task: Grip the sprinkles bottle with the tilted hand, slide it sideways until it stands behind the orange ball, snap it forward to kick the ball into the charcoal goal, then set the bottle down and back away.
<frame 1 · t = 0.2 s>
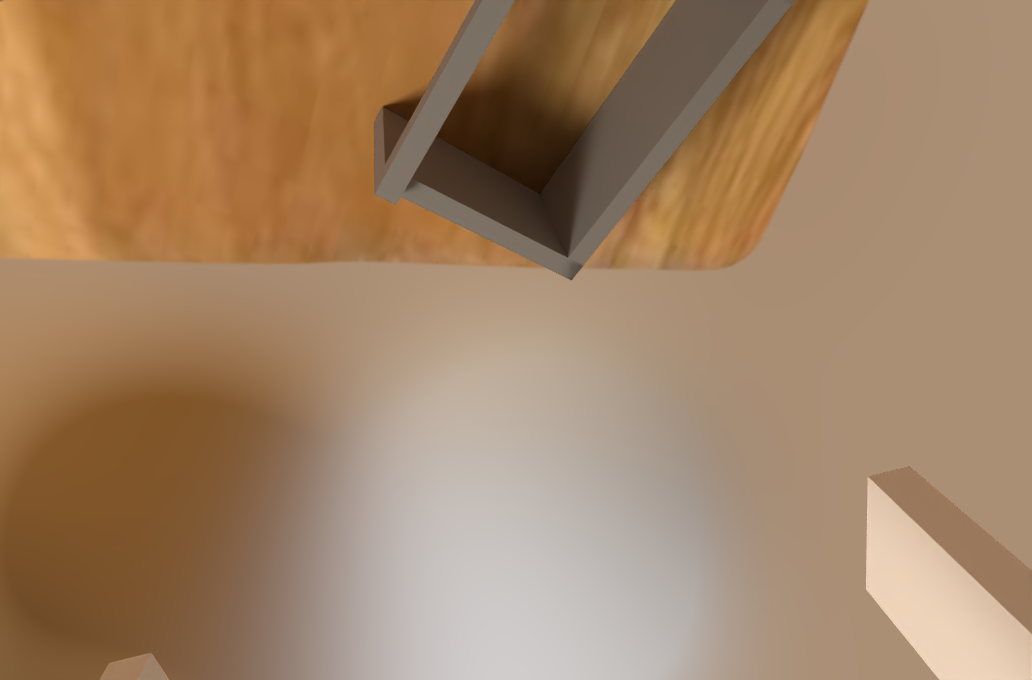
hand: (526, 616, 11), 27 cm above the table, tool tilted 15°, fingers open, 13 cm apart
goal: (547, 40, 31), on the table
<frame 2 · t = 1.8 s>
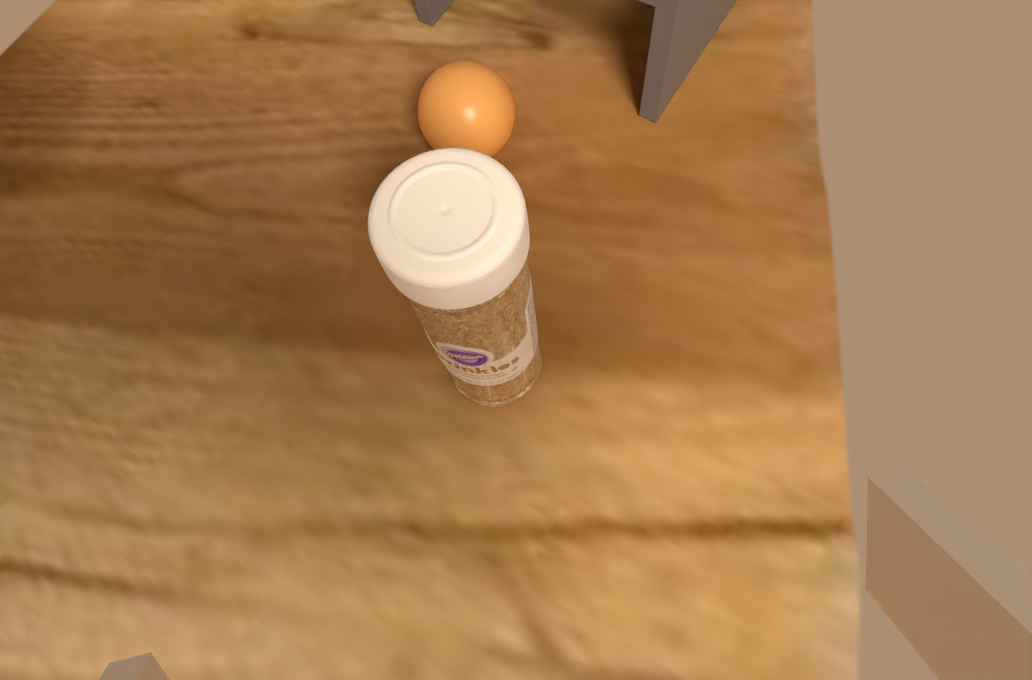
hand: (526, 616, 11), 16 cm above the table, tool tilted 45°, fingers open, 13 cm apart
ball: (466, 113, 32), point 2 cm above the table
sprinkles bottle: (497, 363, 30), on the table
goal: (579, 4, 37), on the table
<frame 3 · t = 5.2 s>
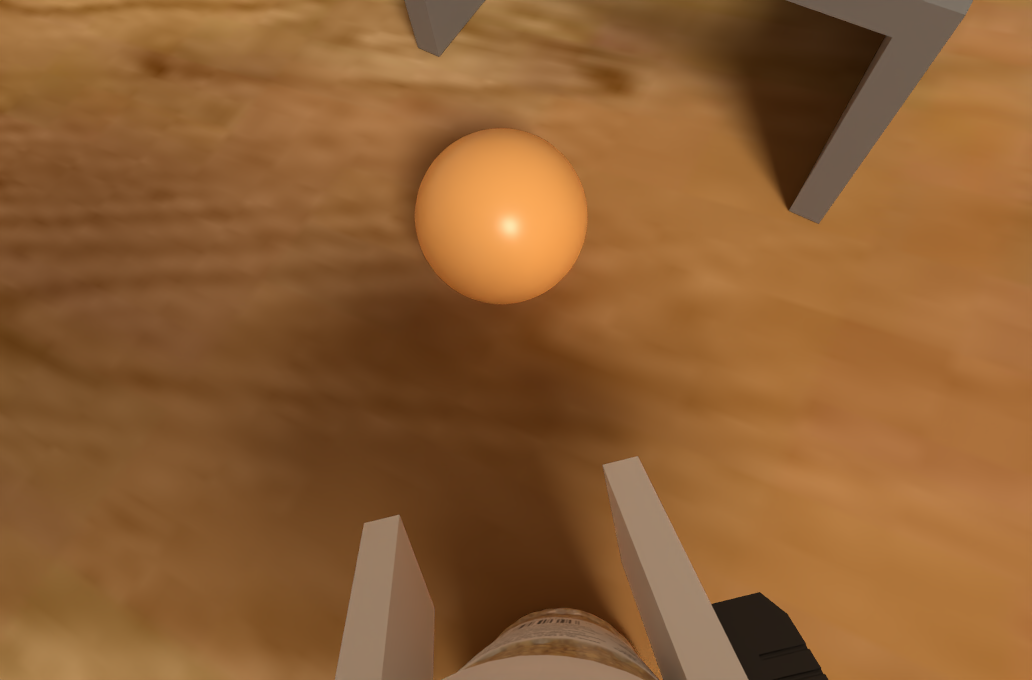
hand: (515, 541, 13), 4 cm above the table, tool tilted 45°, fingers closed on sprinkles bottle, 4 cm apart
ball: (501, 218, 18), point 2 cm above the table
goal: (672, 22, 23), on the table
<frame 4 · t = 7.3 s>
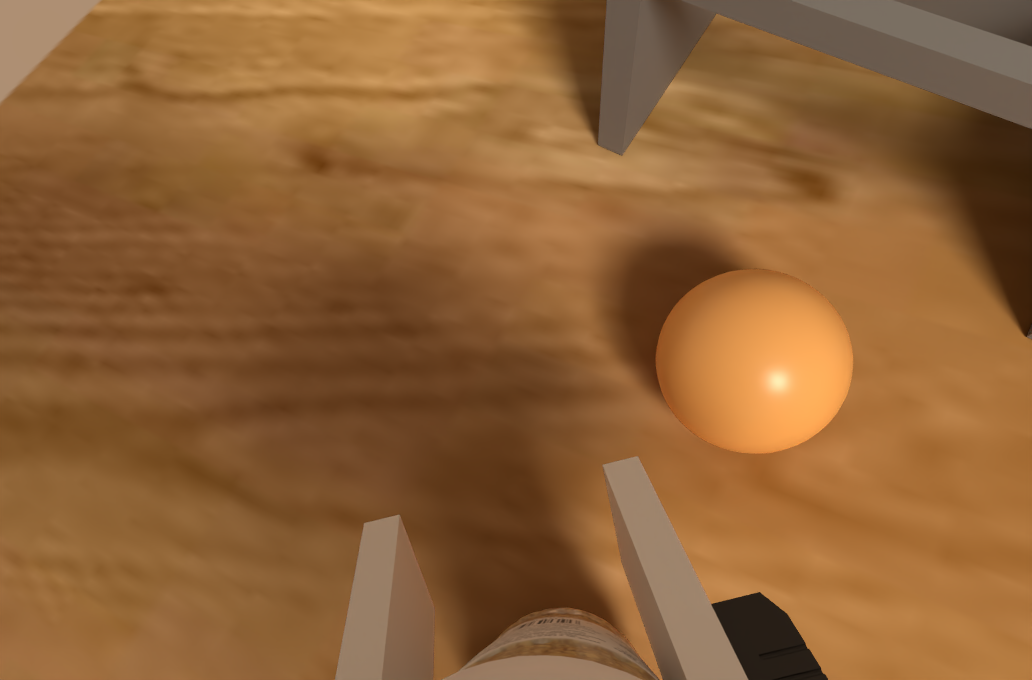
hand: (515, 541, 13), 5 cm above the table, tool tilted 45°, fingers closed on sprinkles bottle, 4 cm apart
ball: (749, 360, 17), point 2 cm above the table
goal: (869, 120, 22), on the table
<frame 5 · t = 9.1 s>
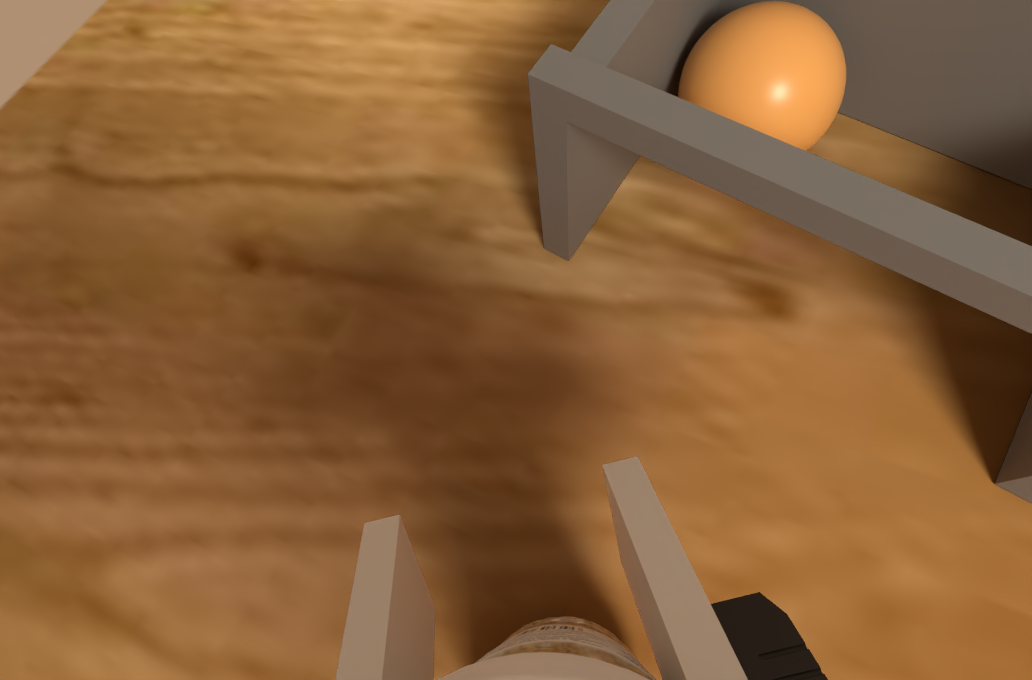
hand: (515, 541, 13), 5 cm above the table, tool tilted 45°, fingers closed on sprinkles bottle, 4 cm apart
ball: (758, 89, 20), point 2 cm above the table, tilted 64°
goal: (834, 228, 21), on the table
when the fingers open (5 cm above the table, at t = 9.4 s): sprinkles bottle stays where it is, on the table.
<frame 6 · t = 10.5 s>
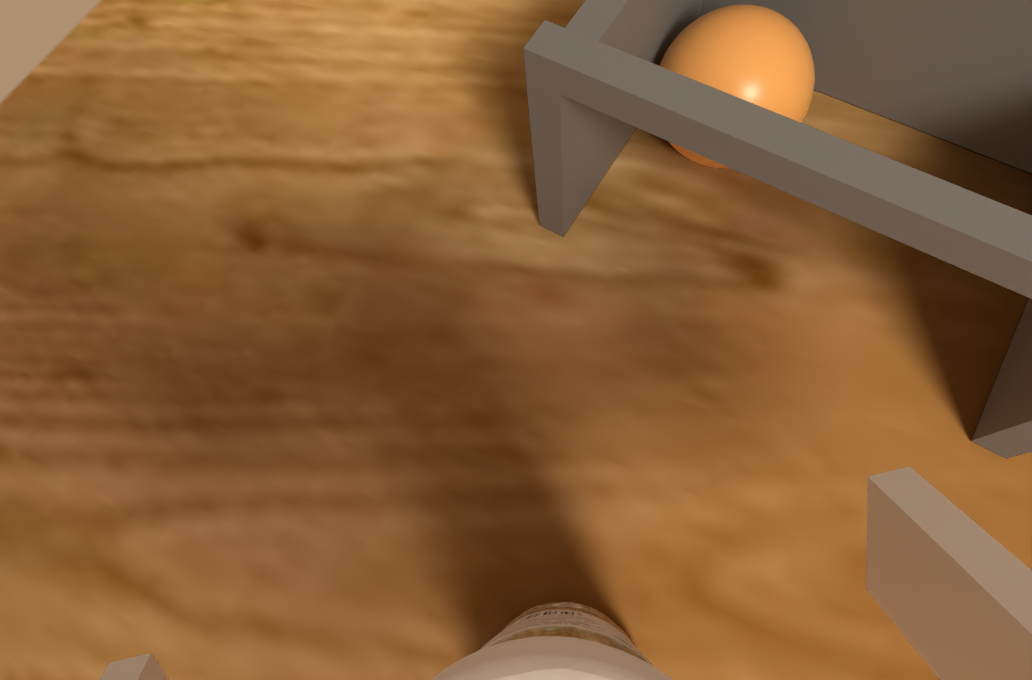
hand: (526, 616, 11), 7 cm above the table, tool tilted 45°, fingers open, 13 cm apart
ball: (731, 90, 21), point 2 cm above the table, tilted 84°
goal: (818, 202, 22), on the table
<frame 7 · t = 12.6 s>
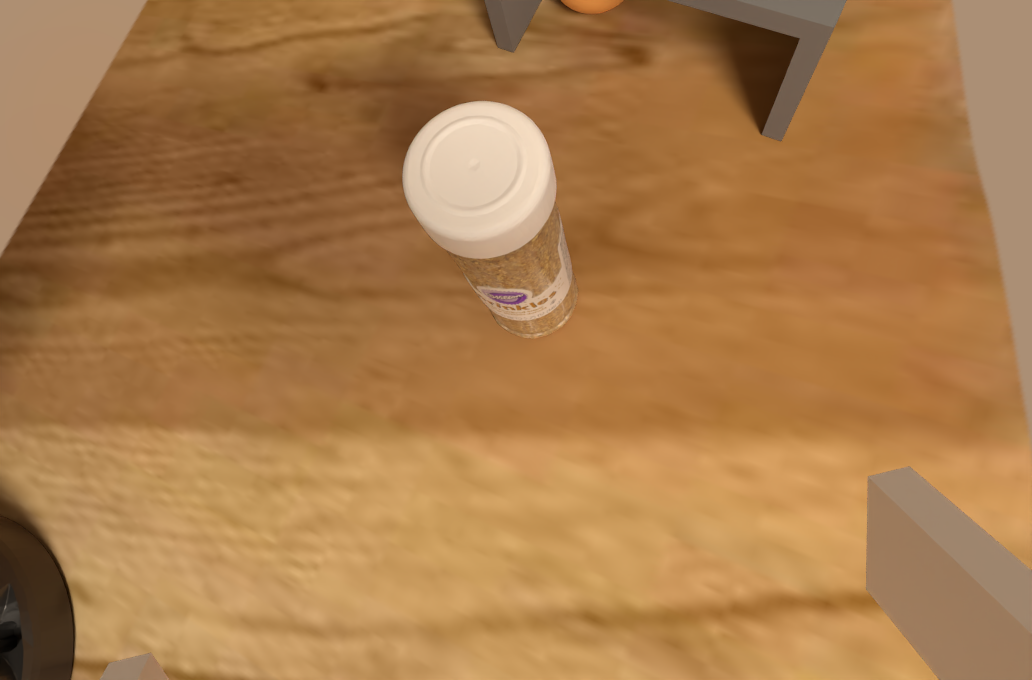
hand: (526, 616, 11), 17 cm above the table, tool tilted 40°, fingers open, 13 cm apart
sprinkles bottle: (535, 296, 31), on the table
goal: (674, 5, 33), on the table
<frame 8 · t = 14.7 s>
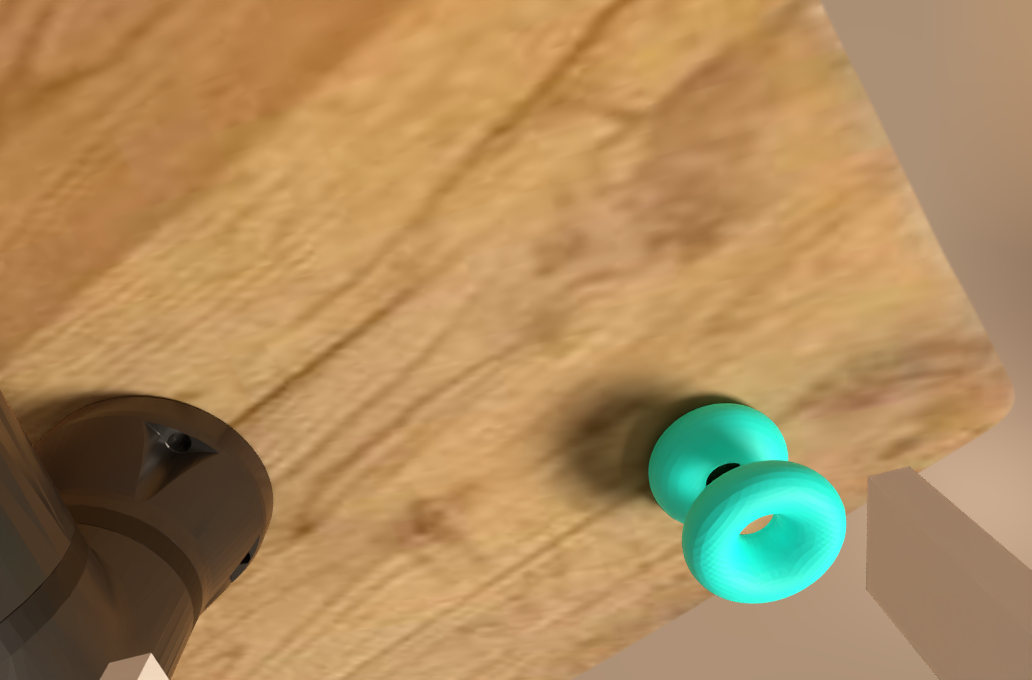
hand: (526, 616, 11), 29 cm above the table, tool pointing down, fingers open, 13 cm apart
donuts: (708, 454, 46), on the table
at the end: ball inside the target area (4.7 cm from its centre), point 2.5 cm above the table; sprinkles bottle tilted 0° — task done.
